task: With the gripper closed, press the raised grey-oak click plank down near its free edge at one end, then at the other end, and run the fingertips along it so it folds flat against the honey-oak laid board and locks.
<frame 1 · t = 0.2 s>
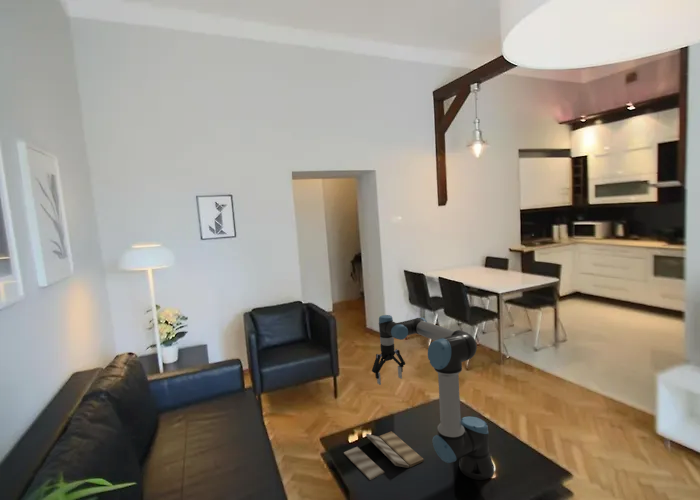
hand: (389, 380, 207), 27 cm above the table, fingers open, 13 cm apart
laid board: (400, 449, 190), on the table
click plank: (386, 449, 186), point 3 cm above the table, hinge at 30.0°
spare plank: (363, 463, 182), on the table
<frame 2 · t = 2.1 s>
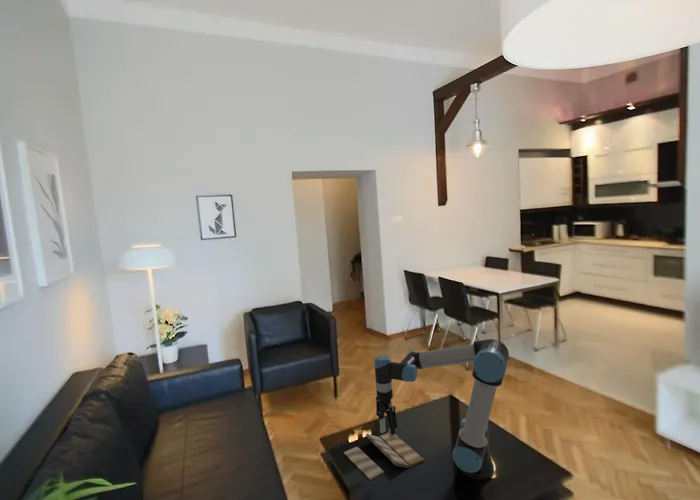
hand: (387, 435, 176), 15 cm above the table, fingers open, 7 cm apart
nothing on the table moved.
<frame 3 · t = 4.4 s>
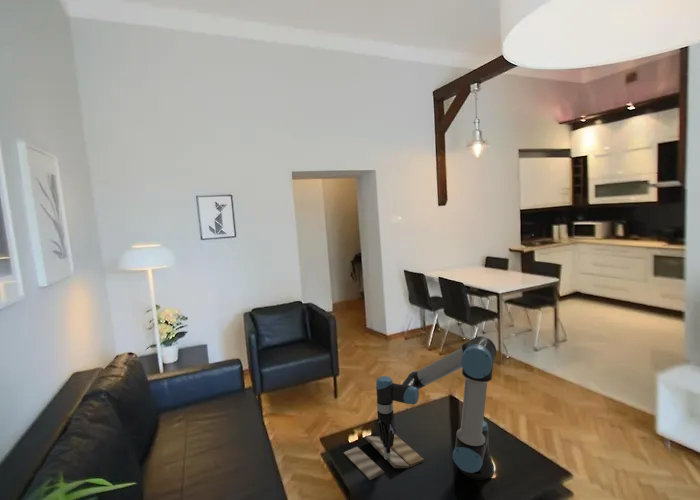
hand: (387, 457, 177), 4 cm above the table, fingers closed
click plank: (385, 450, 186), point 2 cm above the table, hinge at 21.9°, touching gripper
everything else where it was.
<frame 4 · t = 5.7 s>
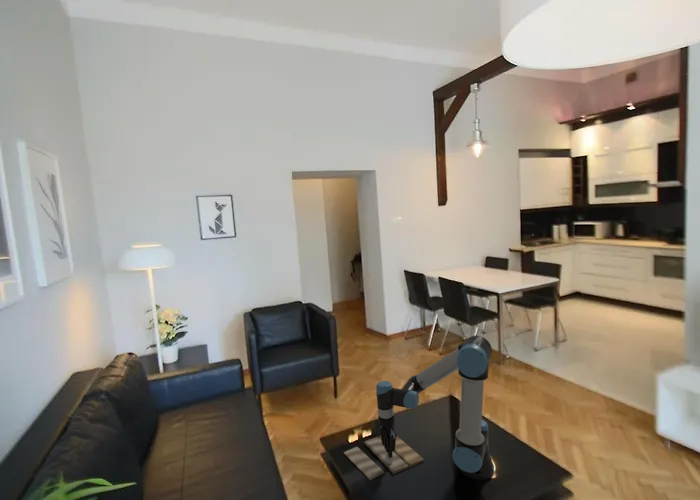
hand: (389, 462, 177), 2 cm above the table, fingers closed
click plank: (385, 453, 186), point 1 cm above the table, hinge at 0.9°
everything else where it was.
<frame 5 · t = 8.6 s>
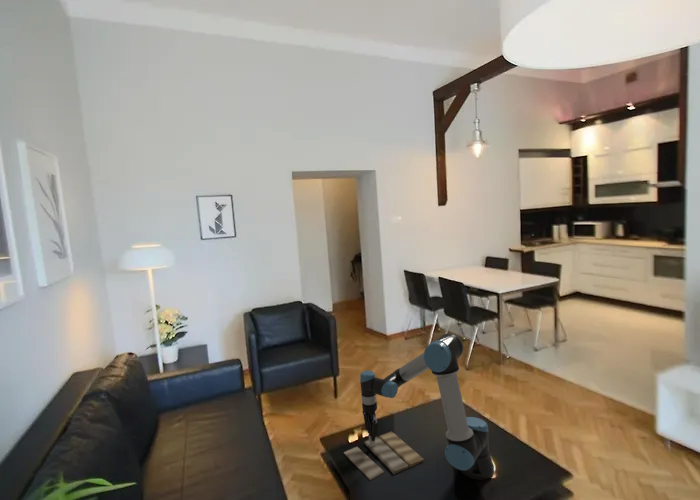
hand: (372, 445, 192), 2 cm above the table, fingers closed
click plank: (385, 453, 186), point 1 cm above the table, hinge at 0.8°, touching gripper
everything else where it was.
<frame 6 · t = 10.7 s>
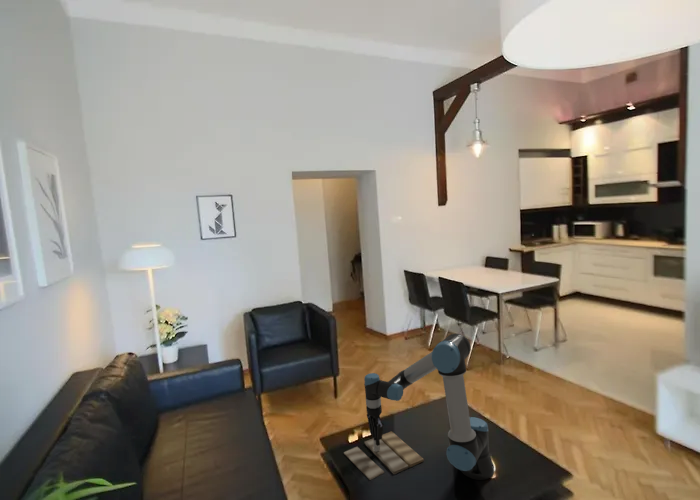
hand: (377, 450, 188), 2 cm above the table, fingers closed
click plank: (385, 454, 186), point 1 cm above the table, hinge at -0.2°
everything else where it was.
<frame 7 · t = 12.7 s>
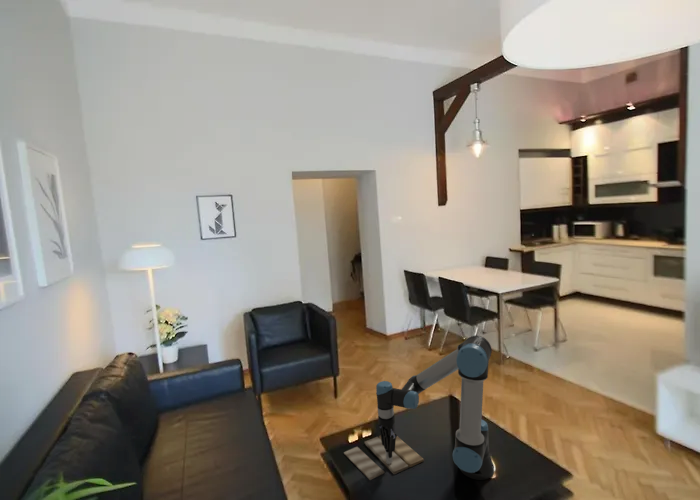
hand: (389, 462, 178), 2 cm above the table, fingers closed
nothing on the table moved.
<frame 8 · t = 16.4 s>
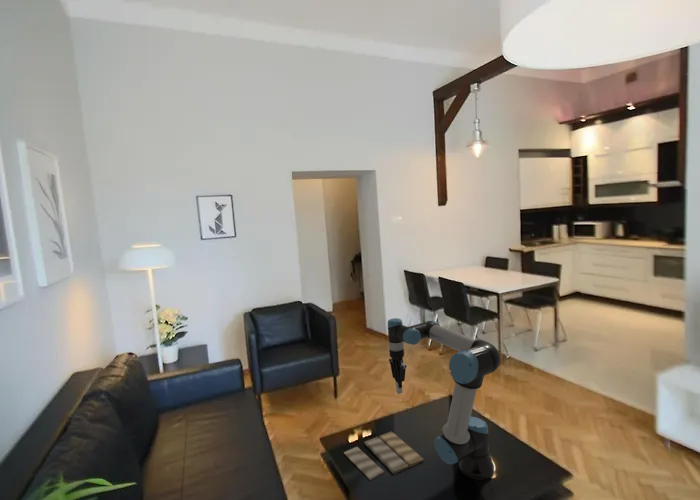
hand: (399, 392, 194), 26 cm above the table, fingers closed
nothing on the table moved.
at the end: click plank at +0° (first picture: +30°); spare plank moved 0.6 cm from its start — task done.
